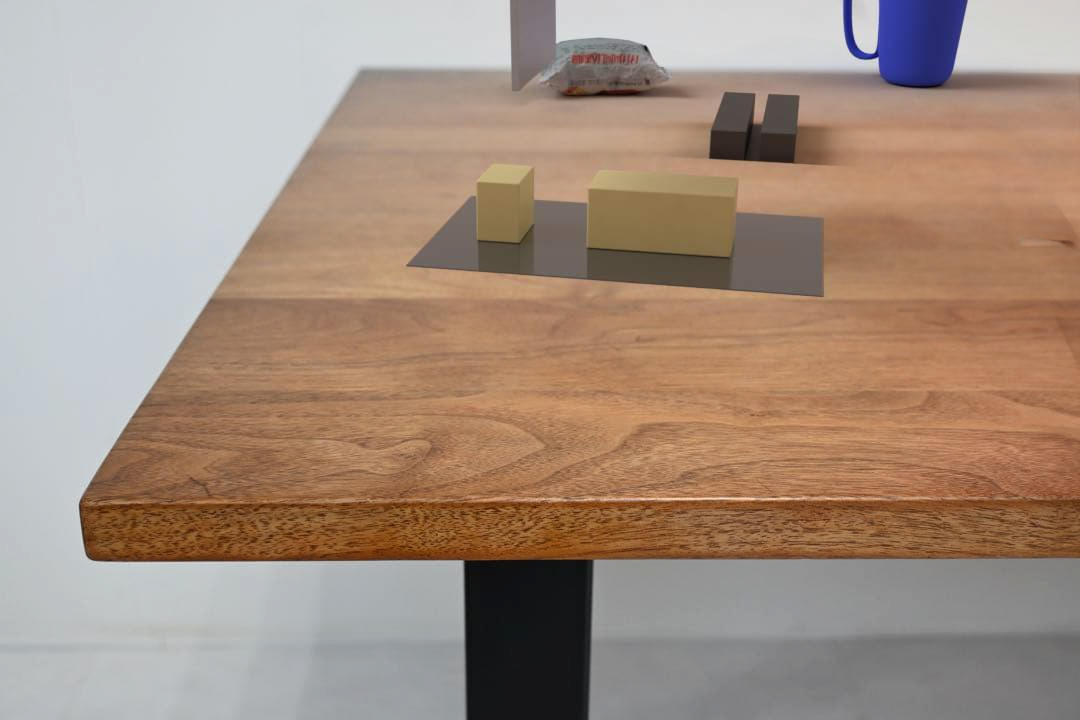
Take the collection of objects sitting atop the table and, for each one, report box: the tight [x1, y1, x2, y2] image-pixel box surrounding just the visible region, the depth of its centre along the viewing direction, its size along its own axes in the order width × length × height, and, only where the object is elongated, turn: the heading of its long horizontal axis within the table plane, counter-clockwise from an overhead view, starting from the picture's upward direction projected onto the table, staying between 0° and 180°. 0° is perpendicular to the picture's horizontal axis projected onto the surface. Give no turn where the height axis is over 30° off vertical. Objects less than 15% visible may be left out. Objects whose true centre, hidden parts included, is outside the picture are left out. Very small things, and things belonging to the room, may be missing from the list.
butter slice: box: [475, 163, 535, 243], centre depth 72 cm, size 2×4×4 cm, turn 168°
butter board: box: [405, 195, 824, 298], centre depth 72 cm, size 22×14×1 cm, turn 78°
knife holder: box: [708, 91, 801, 165], centre depth 96 cm, size 6×14×3 cm, turn 168°
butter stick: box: [586, 169, 740, 258], centre depth 71 cm, size 8×4×4 cm, turn 78°
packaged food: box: [537, 37, 673, 96], centre depth 114 cm, size 9×12×5 cm
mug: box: [842, 0, 969, 87], centre depth 121 cm, size 8×12×10 cm
